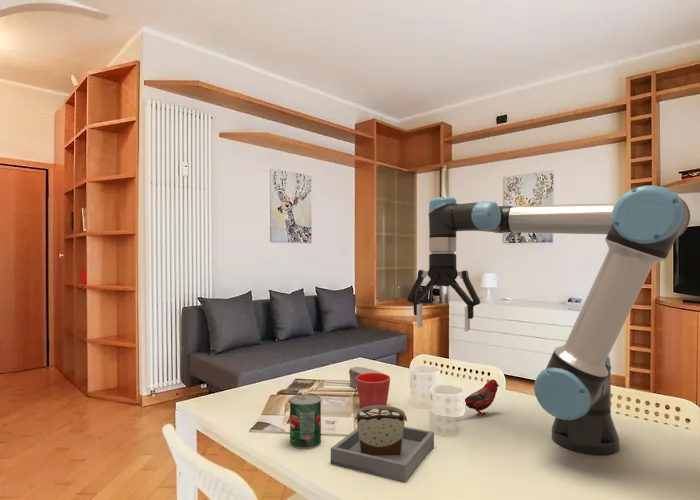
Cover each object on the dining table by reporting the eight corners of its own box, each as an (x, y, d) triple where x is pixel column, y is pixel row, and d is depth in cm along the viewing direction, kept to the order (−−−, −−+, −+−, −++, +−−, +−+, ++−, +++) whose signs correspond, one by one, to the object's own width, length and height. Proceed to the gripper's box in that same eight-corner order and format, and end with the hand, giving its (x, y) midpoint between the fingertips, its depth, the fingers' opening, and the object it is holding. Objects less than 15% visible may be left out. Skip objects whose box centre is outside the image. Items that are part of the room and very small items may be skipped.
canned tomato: (327, 443, 113) (327, 399, 113) (301, 452, 108) (301, 406, 108) (308, 433, 119) (308, 392, 119) (283, 441, 114) (283, 398, 114)
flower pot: (349, 411, 136) (349, 379, 137) (365, 400, 146) (365, 370, 146) (381, 416, 132) (381, 383, 132) (395, 405, 141) (395, 374, 141)
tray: (434, 446, 111) (434, 431, 111) (405, 482, 94) (405, 465, 94) (368, 432, 120) (368, 419, 120) (330, 463, 102) (330, 448, 102)
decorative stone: (377, 397, 151) (391, 389, 159) (376, 377, 150) (390, 369, 159) (341, 390, 159) (356, 382, 167) (340, 371, 159) (356, 364, 167)
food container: (403, 445, 110) (403, 404, 110) (407, 456, 104) (407, 413, 104) (353, 446, 109) (353, 404, 110) (354, 457, 103) (354, 413, 103)
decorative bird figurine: (502, 413, 134) (502, 379, 135) (455, 422, 127) (455, 387, 127) (495, 410, 137) (495, 377, 137) (449, 419, 129) (449, 384, 130)
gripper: (490, 252, 123) (491, 330, 123) (405, 253, 135) (405, 323, 135) (485, 252, 117) (485, 334, 117) (396, 253, 128) (396, 327, 128)
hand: (442, 328), depth 126 cm, fingers open, 13 cm apart
